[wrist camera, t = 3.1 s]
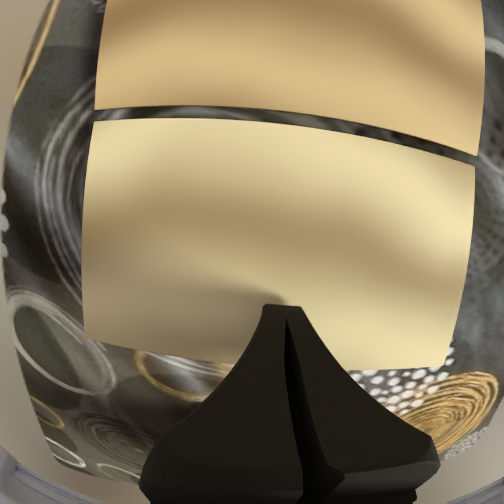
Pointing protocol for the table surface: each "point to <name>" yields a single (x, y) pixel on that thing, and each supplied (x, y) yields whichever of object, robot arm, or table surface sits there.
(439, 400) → the table surface
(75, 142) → the table surface
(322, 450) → the robot arm
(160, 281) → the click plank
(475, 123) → the laid oak board
